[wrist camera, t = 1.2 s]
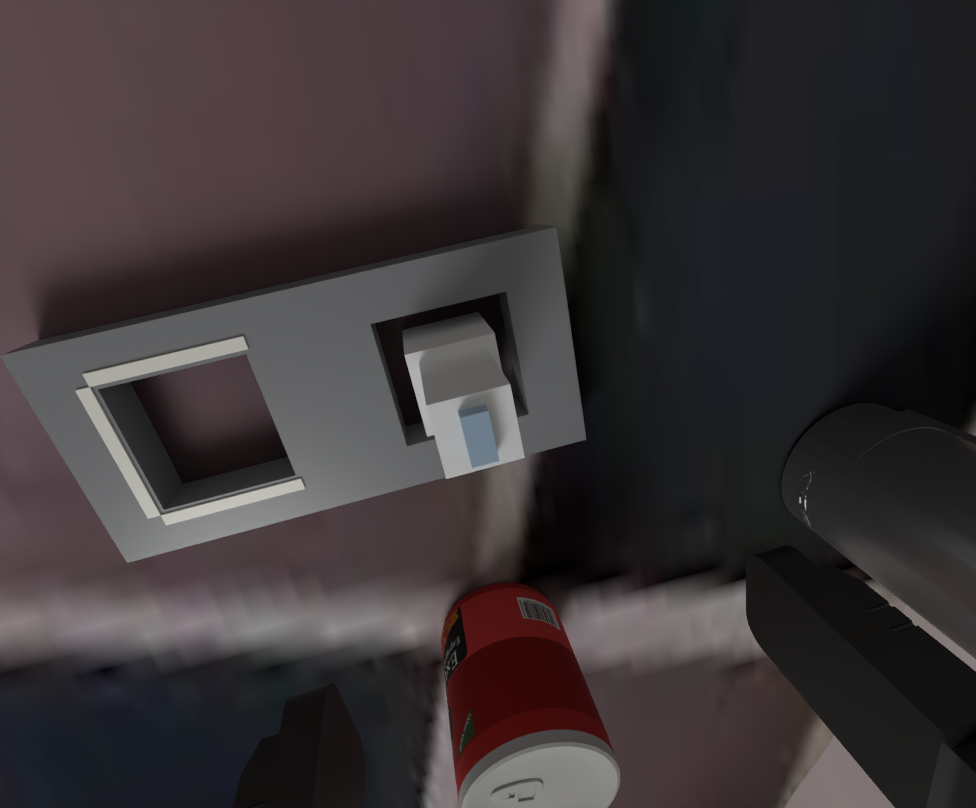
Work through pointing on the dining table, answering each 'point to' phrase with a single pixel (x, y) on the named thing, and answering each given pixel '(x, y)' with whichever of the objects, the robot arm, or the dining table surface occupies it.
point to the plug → (463, 393)
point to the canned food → (521, 707)
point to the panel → (296, 389)
